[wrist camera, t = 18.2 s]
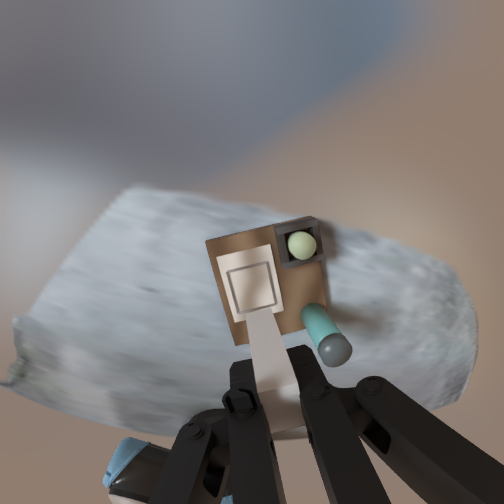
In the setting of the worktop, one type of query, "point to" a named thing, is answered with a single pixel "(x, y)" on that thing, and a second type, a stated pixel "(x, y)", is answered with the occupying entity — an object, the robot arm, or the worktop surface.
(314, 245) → the button
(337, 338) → the marker
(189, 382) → the worktop surface
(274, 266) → the clipboard
